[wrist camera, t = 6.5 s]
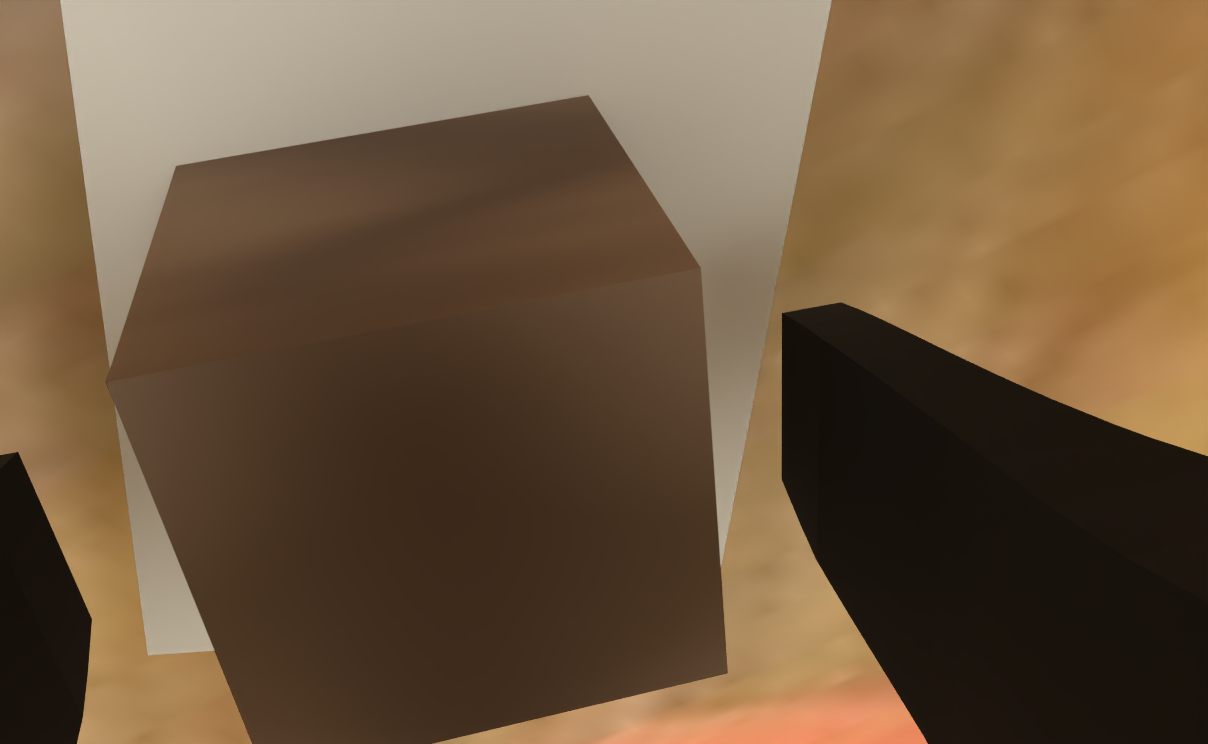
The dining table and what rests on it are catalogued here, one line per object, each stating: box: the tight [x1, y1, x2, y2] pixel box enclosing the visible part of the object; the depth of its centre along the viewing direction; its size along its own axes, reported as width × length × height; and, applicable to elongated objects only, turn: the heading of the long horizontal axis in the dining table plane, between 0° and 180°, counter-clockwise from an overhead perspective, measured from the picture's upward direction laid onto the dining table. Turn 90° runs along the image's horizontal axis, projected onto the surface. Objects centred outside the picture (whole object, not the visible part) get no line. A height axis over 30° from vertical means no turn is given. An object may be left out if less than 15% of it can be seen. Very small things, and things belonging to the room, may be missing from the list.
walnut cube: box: [106, 95, 728, 744], centre depth 12 cm, size 4×4×4 cm
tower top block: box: [60, 0, 832, 655], centre depth 15 cm, size 8×10×2 cm
